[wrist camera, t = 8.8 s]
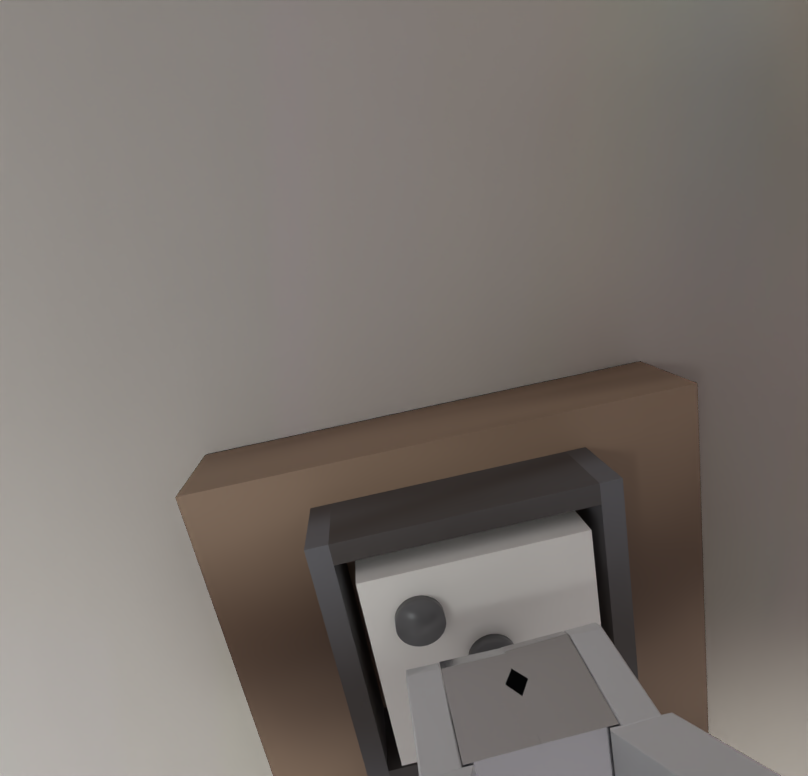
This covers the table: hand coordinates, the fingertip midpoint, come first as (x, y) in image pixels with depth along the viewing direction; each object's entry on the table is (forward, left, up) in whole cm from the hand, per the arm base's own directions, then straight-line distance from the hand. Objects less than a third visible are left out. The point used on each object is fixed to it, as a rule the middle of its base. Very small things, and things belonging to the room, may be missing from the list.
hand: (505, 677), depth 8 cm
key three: (+1, 0, -3) cm, 3 cm away
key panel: (+7, 0, -5) cm, 8 cm away
